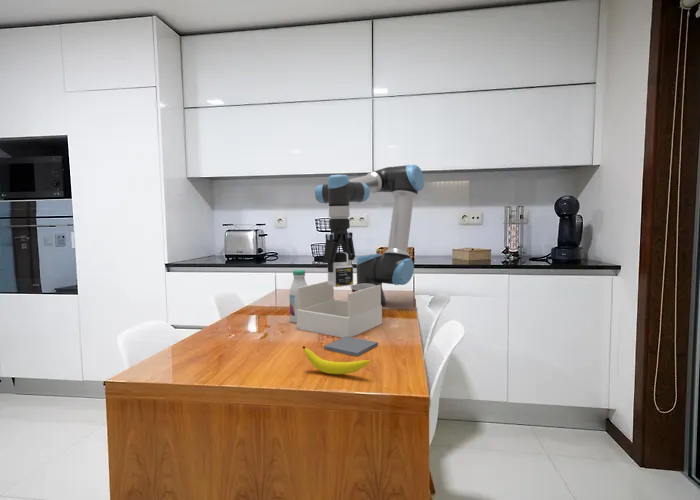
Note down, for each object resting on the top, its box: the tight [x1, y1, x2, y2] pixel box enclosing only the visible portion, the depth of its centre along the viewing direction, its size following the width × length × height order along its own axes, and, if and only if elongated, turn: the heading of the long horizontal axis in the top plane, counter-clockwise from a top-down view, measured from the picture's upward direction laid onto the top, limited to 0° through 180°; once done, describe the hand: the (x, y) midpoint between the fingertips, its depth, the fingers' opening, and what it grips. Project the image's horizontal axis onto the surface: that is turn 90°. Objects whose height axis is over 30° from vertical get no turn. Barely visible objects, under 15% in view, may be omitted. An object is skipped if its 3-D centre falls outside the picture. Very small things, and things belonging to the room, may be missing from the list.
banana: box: [302, 345, 371, 375], centre depth 103 cm, size 3×19×6 cm, turn 67°
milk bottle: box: [289, 269, 308, 324], centre depth 157 cm, size 8×8×20 cm
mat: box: [323, 336, 379, 357], centre depth 125 cm, size 12×12×1 cm
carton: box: [296, 280, 383, 339], centre depth 149 cm, size 23×23×15 cm
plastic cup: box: [349, 283, 376, 293], centre depth 168 cm, size 11×11×12 cm
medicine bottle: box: [327, 251, 354, 288], centre depth 148 cm, size 7×7×12 cm
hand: (340, 279), depth 148 cm, fingers closed on medicine bottle, 9 cm apart
